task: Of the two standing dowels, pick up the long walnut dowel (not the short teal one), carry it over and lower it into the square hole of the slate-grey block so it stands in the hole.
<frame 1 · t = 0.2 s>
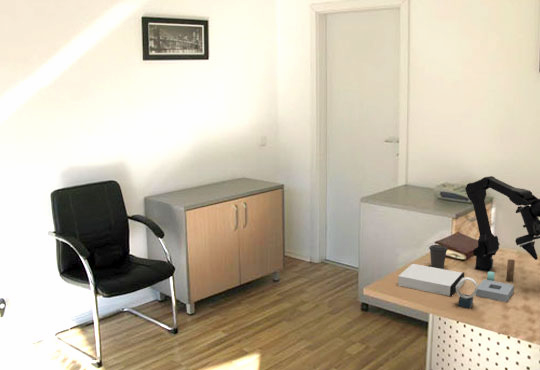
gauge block: (494, 293, 245), on the table
walnut pin: (509, 280, 259), on the table
disc drive: (431, 285, 256), on the table
coffee cup: (437, 267, 275), on the table
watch: (465, 305, 235), on the table
teal pin: (490, 283, 256), on the table
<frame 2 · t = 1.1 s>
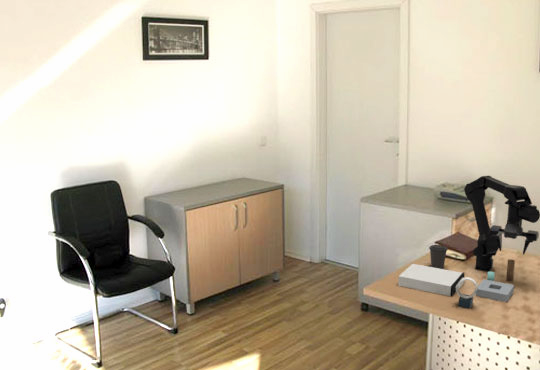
hand: (511, 252, 256), 12 cm above the table, tool pointing down, fingers open, 9 cm apart
nothing on the table moved.
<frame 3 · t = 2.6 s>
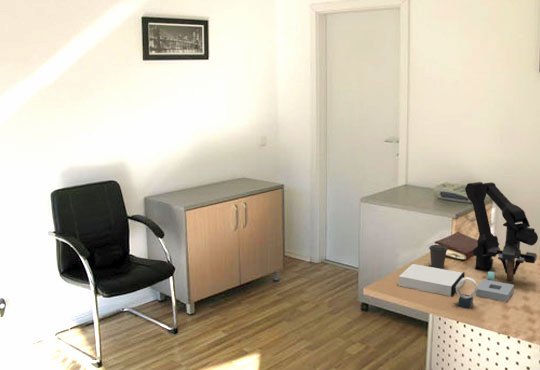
hand: (510, 273, 258), 3 cm above the table, tool pointing down, fingers closed on walnut pin, 3 cm apart
walnut pin: (509, 280, 259), on the table, touching gripper
everything else where it was.
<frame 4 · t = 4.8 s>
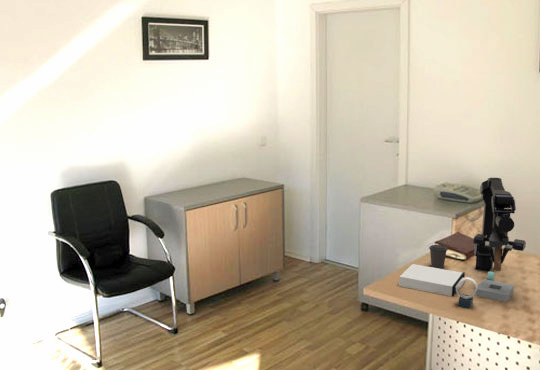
hand: (497, 262, 242), 13 cm above the table, tool pointing down, fingers closed on walnut pin, 3 cm apart
walnut pin: (497, 269, 243), point 10 cm above the table, touching gripper
everything else where it was.
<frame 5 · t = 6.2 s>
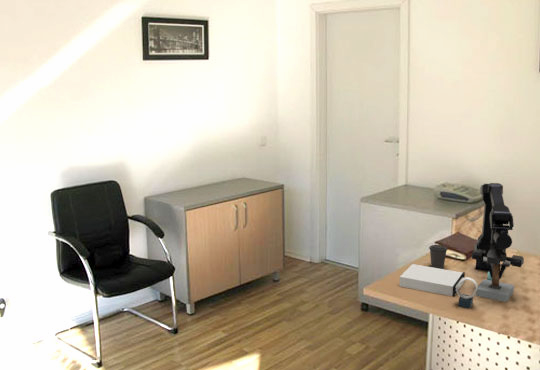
hand: (495, 278, 244), 7 cm above the table, tool pointing down, fingers closed on walnut pin, 3 cm apart
walnut pin: (495, 285, 245), point 4 cm above the table, touching gripper
everything else where it was.
when the fingers open (4 cm above the table, at t = 7.0 s): walnut pin drops 2 cm, resting in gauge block.
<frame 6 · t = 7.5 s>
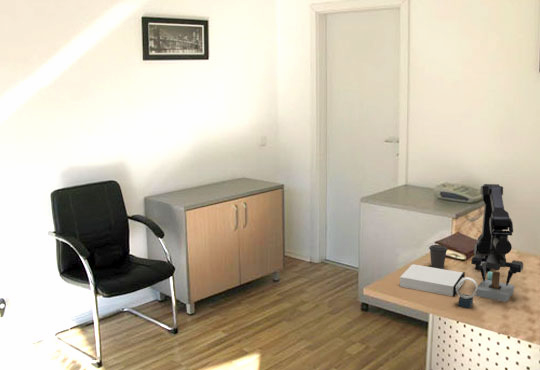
hand: (495, 283, 244), 4 cm above the table, tool pointing down, fingers open, 8 cm apart
walnut pin: (494, 293, 245), resting in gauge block
everything else where it was.
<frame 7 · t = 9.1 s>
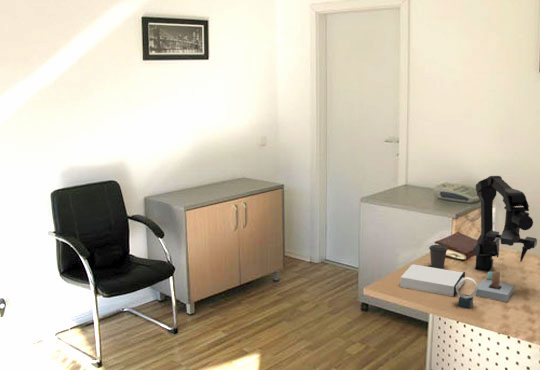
hand: (509, 259, 249), 12 cm above the table, tool pointing down, fingers open, 9 cm apart
nothing on the table moved.
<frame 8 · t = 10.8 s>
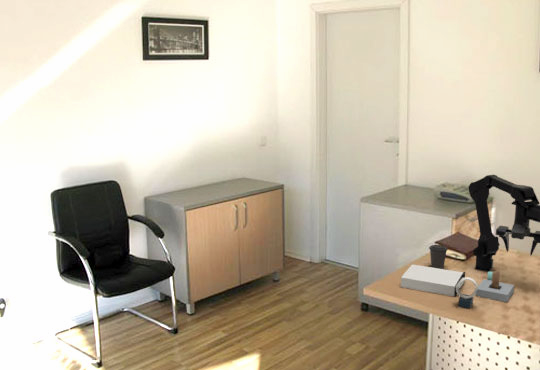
hand: (519, 253, 254), 13 cm above the table, tool pointing down, fingers open, 9 cm apart
nothing on the table moved.
at the end: walnut pin 0.0 cm off-centre on the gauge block, point 0.0 cm above the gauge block's base; walnut pin tilted 0°; teal pin moved 0.0 cm from its start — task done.
